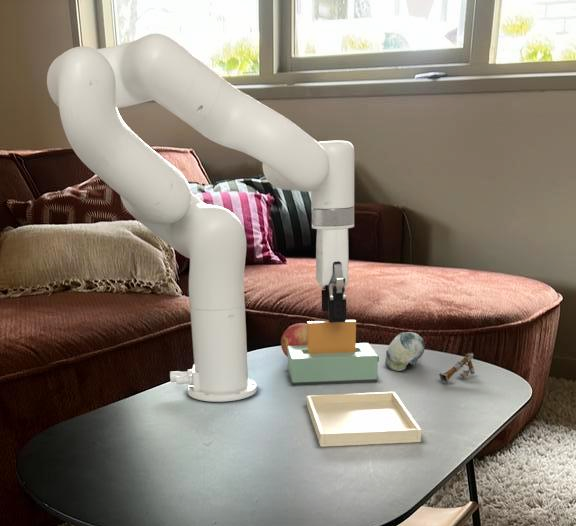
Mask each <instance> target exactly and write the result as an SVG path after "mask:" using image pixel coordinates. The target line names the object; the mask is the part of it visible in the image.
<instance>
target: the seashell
mask: <svg viewBox="0 0 576 526" xmlns="http://www.w3.org/2000/svg"><path fill="white" fill-rule="evenodd" d="M425 346H426V345H425V342H424V338H422V337H421V336H420V335H419V334H418V333H416V332H412V331H407V332H405V331H404V332H403V331H402V332H399V333H398V334H397V335H396V336H395V337H394V338H393V339H392V341H391V342H390V343H389V345H388V347H387V350H386V351H385V354H386V355H385V356H386V357H385V366H386V367H387V368H388V369H389V370H392V371H396V372H402V371H405V370H406V369H407V366H408V365H409V364H410V365H411V366H416V363H417V362H418V361H419V359H421V357H422V356H423V354H424V353H425V349H426V348H425Z"/></svg>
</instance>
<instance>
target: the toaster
mask: <svg viewBox="0 0 576 526" xmlns="http://www.w3.org/2000/svg"><path fill="white" fill-rule="evenodd" d="M287 348H288V357H287V373H288V376H289V379H290V382H291V385H292V386H307V385H308V386H309V385H311V386H313V385H332V384H333V385H334V384H335V385H336V384H355V383H356V384H358V383H360V384H361V383H377V382H378V367H379V366H378V363H379V362H380V357H379V355H378V354H377V353H376V351H375V349H374V348H373V347H372V346H371V345H370V343H369V342H359V343H357V342H356V351H355V352H340V353H315V354H308V348H307V345H301V346H287Z"/></svg>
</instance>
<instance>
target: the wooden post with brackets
mask: <svg viewBox="0 0 576 526" xmlns="http://www.w3.org/2000/svg"><path fill="white" fill-rule="evenodd" d="M473 359H474V353H473V352H470V353H469V352H468V353H466V354H464V356H463V358H462V359H461V360H460V361H457V362H456V363H455V364H454V365H452V367H451V368H450V369H449V370H447V371H445V372H444V373H443V372H439V373H438V375H439V379H440V382H441V383H443V384H444V383H445V384H446V385H447V384H449V383H450V381H449V380H450V378H451V377H452V376H454V374H456V373H457V372H459V371H460V370H461V369H462V368H464V366H467V367H468V369H466V370H462V372H460V373H459V379H460V380H462V379H466V378H467V377H469V374H471V375H474V374H475V367H474V366H473V362H472V360H473Z"/></svg>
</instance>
